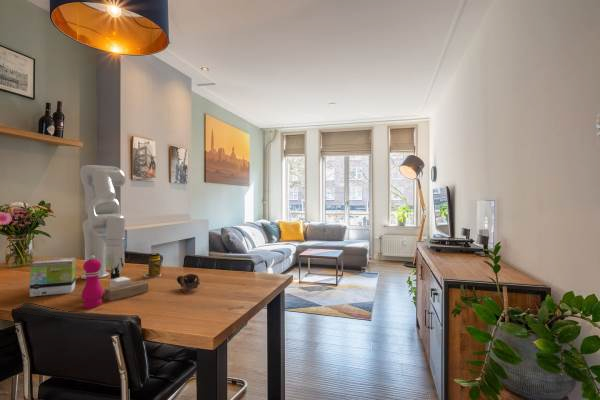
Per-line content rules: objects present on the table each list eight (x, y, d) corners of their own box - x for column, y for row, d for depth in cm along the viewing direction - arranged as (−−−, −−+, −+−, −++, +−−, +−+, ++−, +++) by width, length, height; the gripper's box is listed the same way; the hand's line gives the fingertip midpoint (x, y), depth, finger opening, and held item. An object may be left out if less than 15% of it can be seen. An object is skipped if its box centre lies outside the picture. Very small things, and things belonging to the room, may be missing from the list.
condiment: (162, 275, 173) (162, 254, 173) (145, 277, 168) (145, 255, 168) (159, 273, 179) (159, 252, 179) (143, 275, 174) (143, 253, 174)
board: (104, 298, 135) (104, 288, 134) (141, 289, 147) (141, 280, 147) (110, 300, 131) (110, 291, 131) (148, 291, 144) (148, 282, 144)
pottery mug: (204, 287, 153) (204, 274, 149) (193, 301, 145) (193, 288, 141) (181, 280, 155) (181, 267, 151) (170, 293, 147) (169, 280, 143)
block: (110, 292, 143) (109, 279, 143) (123, 289, 148) (123, 276, 148) (117, 295, 139) (117, 281, 139) (131, 292, 144) (131, 278, 143)
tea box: (29, 297, 134) (29, 263, 134) (35, 291, 143) (35, 259, 143) (72, 293, 141) (72, 260, 141) (76, 287, 150) (75, 256, 150)
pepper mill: (88, 302, 129) (88, 253, 129) (106, 302, 130) (106, 253, 129) (77, 308, 122) (77, 257, 121) (96, 308, 122) (96, 257, 122)
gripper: (99, 241, 147) (99, 280, 147) (114, 245, 138) (113, 286, 139) (116, 239, 153) (116, 276, 153) (131, 243, 144) (131, 282, 145)
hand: (115, 281), depth 146 cm, fingers closed
